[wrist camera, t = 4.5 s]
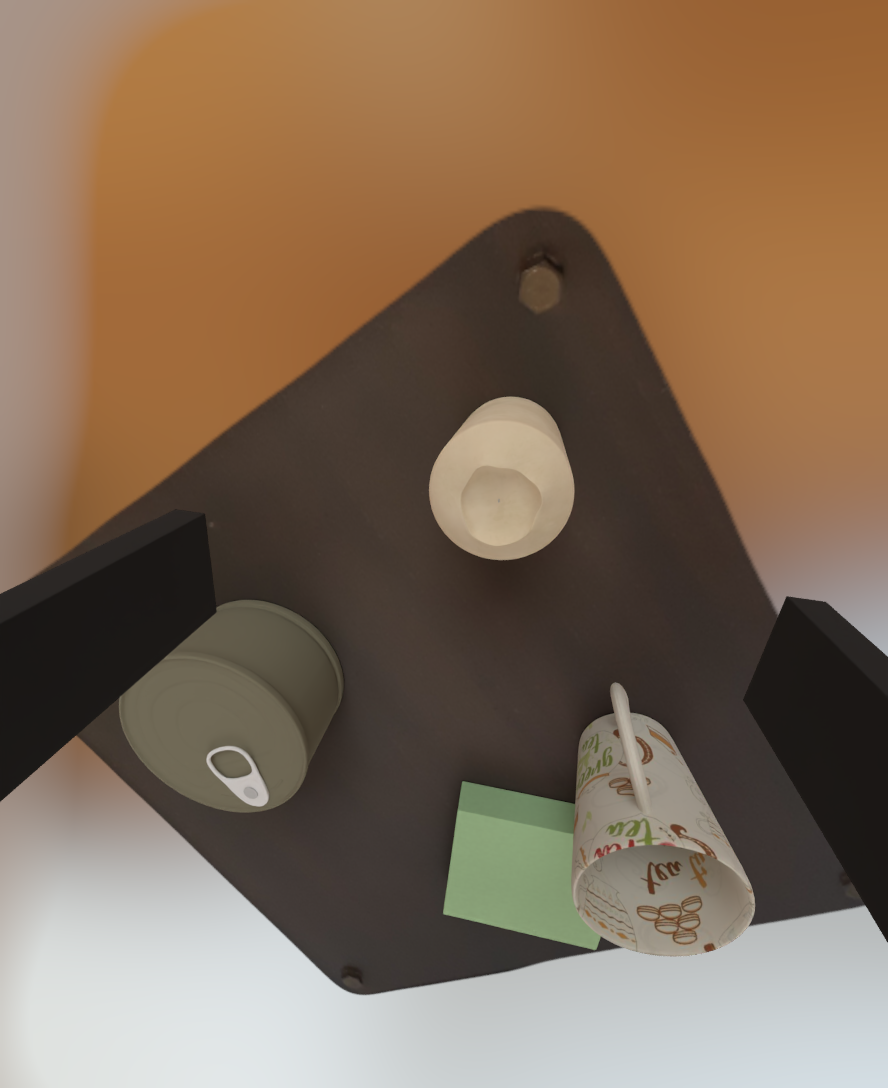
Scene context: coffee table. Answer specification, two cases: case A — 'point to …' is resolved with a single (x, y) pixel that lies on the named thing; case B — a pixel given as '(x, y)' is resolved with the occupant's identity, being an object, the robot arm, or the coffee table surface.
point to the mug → (650, 844)
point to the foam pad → (515, 865)
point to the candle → (503, 481)
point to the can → (236, 707)
